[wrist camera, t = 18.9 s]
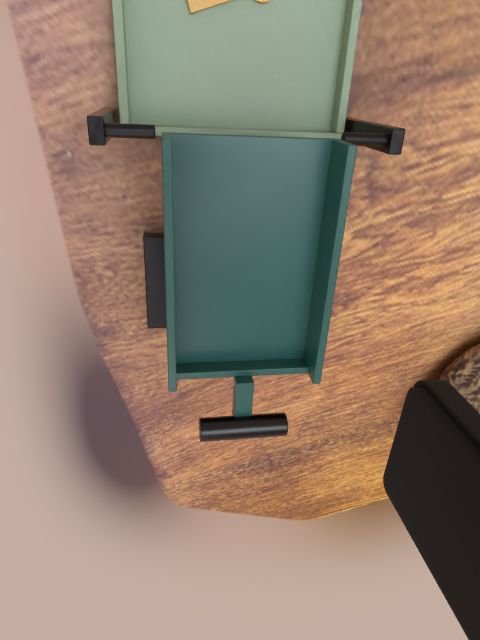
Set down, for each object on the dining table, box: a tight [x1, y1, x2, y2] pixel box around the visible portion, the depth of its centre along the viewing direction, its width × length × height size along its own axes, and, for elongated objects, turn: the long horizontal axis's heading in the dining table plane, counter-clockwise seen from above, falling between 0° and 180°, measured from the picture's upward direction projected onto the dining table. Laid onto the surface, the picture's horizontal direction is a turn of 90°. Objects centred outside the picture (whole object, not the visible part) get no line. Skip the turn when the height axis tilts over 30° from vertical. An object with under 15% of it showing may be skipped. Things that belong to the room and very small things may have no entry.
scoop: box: [161, 132, 357, 442], centre depth 28 cm, size 19×10×4 cm, turn 178°
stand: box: [87, 108, 405, 328], centre depth 32 cm, size 16×17×8 cm
